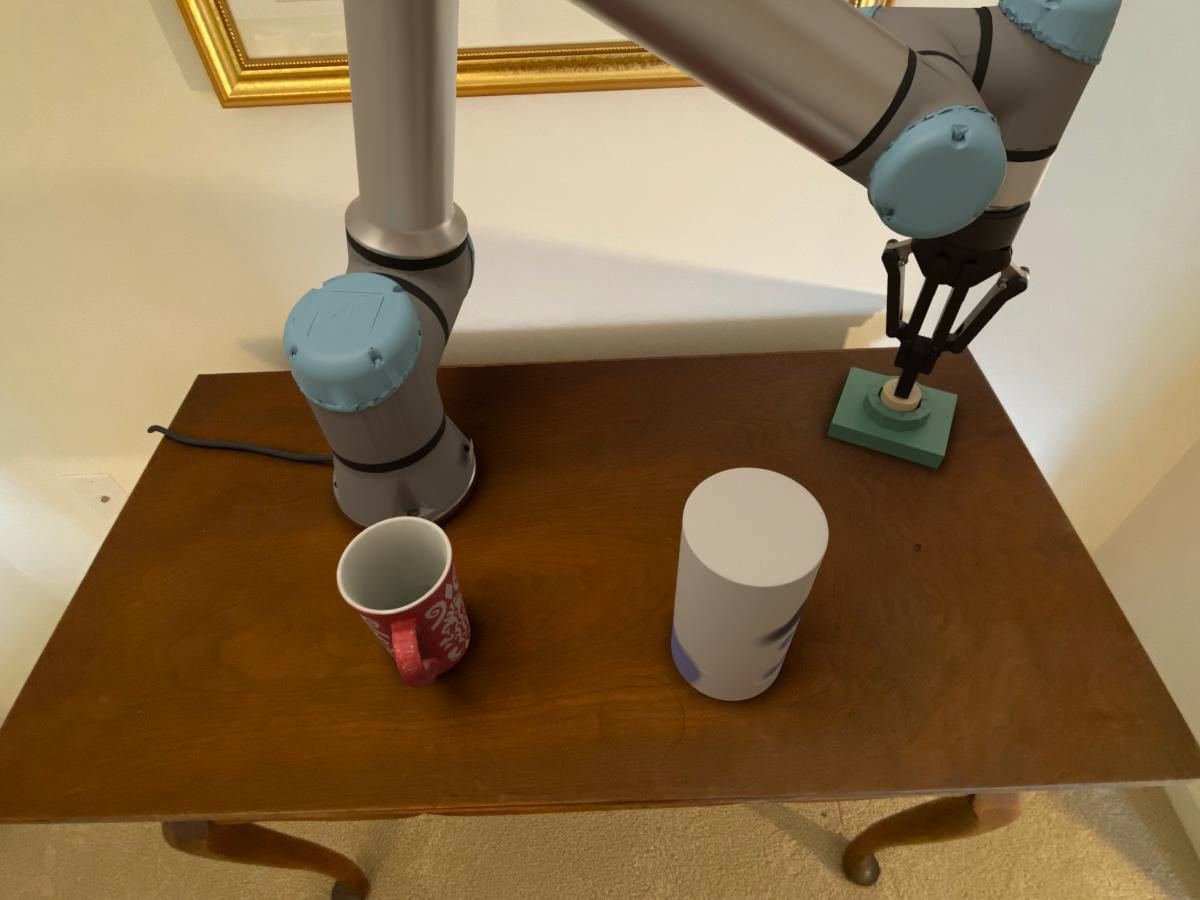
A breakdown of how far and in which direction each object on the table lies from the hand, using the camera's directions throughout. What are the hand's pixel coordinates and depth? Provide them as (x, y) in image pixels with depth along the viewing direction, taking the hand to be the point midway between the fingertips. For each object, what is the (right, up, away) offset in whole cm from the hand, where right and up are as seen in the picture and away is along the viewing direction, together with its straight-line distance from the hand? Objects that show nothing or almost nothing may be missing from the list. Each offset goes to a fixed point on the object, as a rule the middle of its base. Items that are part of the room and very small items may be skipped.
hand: (903, 389), depth 78 cm
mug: (-48, -26, -13) cm, 56 cm away
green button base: (0, -3, +4) cm, 5 cm away
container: (-22, -25, -13) cm, 35 cm away
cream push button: (0, -1, +2) cm, 2 cm away
